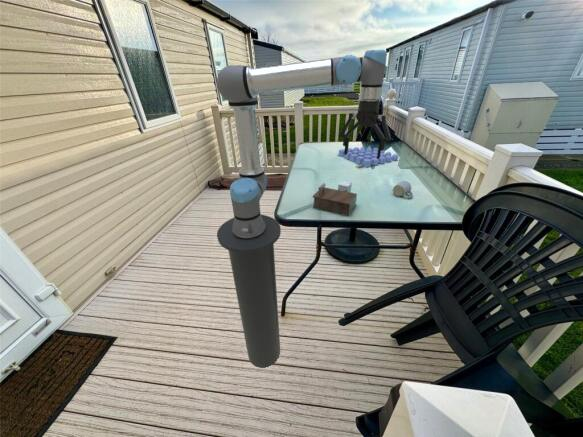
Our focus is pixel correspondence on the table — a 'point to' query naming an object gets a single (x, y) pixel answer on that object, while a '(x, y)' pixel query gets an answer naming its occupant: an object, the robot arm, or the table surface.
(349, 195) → the lid
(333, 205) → the brown wooden box
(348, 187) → the product carton
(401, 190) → the ceramic mug
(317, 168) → the table surface
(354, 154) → the purple egg tray
